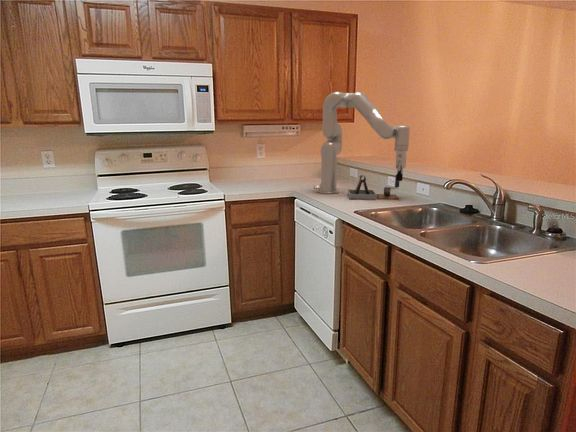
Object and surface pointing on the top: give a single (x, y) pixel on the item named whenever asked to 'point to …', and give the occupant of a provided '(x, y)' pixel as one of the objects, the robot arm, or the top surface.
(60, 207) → the top surface
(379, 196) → the crank base
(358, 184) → the door stopper
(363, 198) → the tray
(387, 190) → the crank
